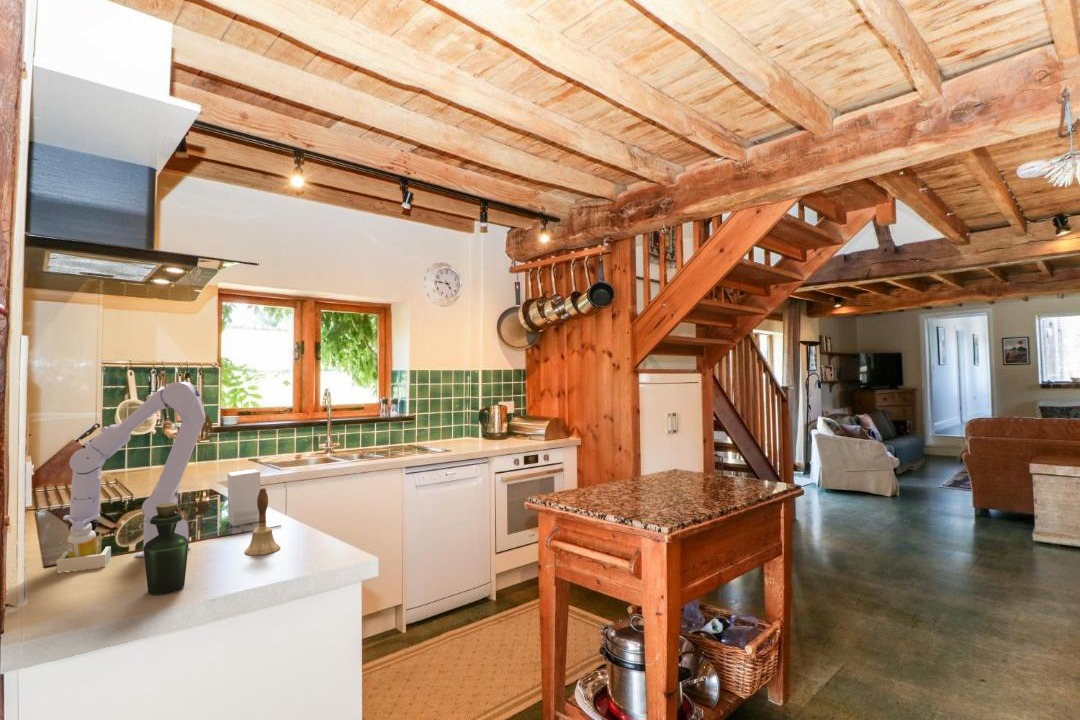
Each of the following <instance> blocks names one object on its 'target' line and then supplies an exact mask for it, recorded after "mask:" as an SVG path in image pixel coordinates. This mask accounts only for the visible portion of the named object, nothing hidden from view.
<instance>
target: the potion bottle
mask: <svg viewBox="0 0 1080 720" xmlns="http://www.w3.org/2000/svg"><path fill="white" fill-rule="evenodd" d="M177 507H178V504H177V503H164V504H159V505H157V506H156V509H157V513H158V515H156V516H153V517H152V518H151V521H150V524H154V525H156V527H157V531H158V534H159V535H157V536H156V537H154V538H153V539H151V540H150V541H148V542H147V543H146V544H145V546H144V545H143V551H144V557H143V558H144V565H145V566H144V567H145V576H146V584H147V585H146V586H147V587H146V588H147V593H148V594H149V595H150V596H151V595H152V596H161V595H162V596H164V595H169V594H172V593H176V592H178V591H180V590H182V589H183V588H184V586H185V582H186V581H185V580H186V572H187V564H188V563H187V561H188V553H189V549H188V547H189V545H190V544H189V543H190V541H189V539H188V540H187V538H186V537H185V536H182V535H179V534H177V533H174V532H175V528H176V525H177V522H179V521H181V520H182V519H183V517H182V514H181V513H180V512H177ZM175 511H176V513H175Z"/></svg>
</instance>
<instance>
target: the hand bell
mask: <svg viewBox="0 0 1080 720" xmlns="http://www.w3.org/2000/svg"><path fill="white" fill-rule="evenodd" d="M257 506H258V510H259V522H258V526H257V528H256V529H254V530H253V531H252V536H251V540H250V544H249V545H248V546H247V547H246V549H245V551H244V554H245V555H246V554H247V556H254V555H255V556H264V555H270V554H272V553H275V552H278V551H279V550H280V549H281V546H280V545H279V543H277V542H276V541H275V539H274V535H273V530H272V528H271V527H268V526H267V516H266V515H267V514H266V513H267V511H268V510H267V509H268V506H269V496H268V493H267V490H266V488H265V487H264V488H260V492H259V495H258V498H257Z"/></svg>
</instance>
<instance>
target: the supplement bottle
mask: <svg viewBox="0 0 1080 720" xmlns="http://www.w3.org/2000/svg"><path fill="white" fill-rule="evenodd" d="M91 529H92V525H91V523H90V522H87V523H85V524H84V529H83V530H74V531H72V526H71V527H70V531H69V533H70V534H69V535H68V537H67V538H66V539H67V540H66V541H67V552H68V554H69V558H74V557H82V556H89V555H97V554H98V548H97V547H98V545H97V534H96V533H97V532H96V531H93V530H91Z"/></svg>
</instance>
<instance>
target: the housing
mask: <svg viewBox="0 0 1080 720" xmlns="http://www.w3.org/2000/svg"><path fill="white" fill-rule="evenodd" d="M111 555H112V546H109V545H108V546H105V548H104V549H103V551H102V552H101V553H99V554H98V553H97V555H89V556H82V557H74V558H69V554H68V551H64V552H63V553H62V555H61V556H60V557H59V558H57V560H56V573H57V572H65V571H74V570H81V571H86V569H88V570H94V569H93V568H95V569H102V568H101V567H103V568H106V567H107V565H108V564H109V562H110V561H111V559H112V556H111ZM110 558H111V559H110ZM108 561H109V562H108ZM107 563H108V564H107ZM74 572H75V571H74Z"/></svg>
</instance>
